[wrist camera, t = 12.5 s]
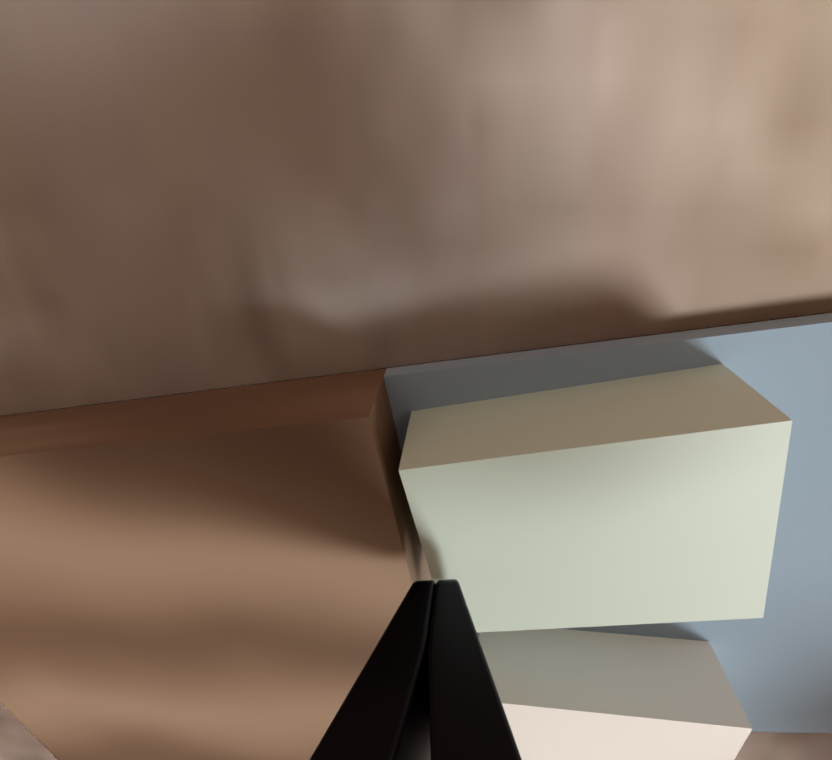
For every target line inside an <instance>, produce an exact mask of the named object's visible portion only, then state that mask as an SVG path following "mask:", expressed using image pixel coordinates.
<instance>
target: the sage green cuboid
mask: <svg viewBox="0 0 832 760" xmlns="http://www.w3.org/2000/svg"><path fill="white" fill-rule="evenodd" d="M792 421H793V420H791V419H790V418H789V417H788V416H786V415H785V414H784V413H783V412H782V411H780V410H779V409H778V408H777V407H775V406H774V405H773V404H772V403H770V402H769V401H768V400H767V399H765V398H764V397H763V396H762V395H761V394H759V393H758V392H757V391H756V390H754V389H753V388H752V387H751V386H749V385H748V384H747V383H746V382H744V381H743V380H742V379H741V378H740V377H738V376H737V375H736V374H735V373H733V372H732V371H731V370H730V369H728V368H727V367H726V366H725V365H723V364H717V365H711V366H704V367H697V368H691V369H684V370H678V371H671V372H665V373H658V374H652V375H645V376H638V377H632V378H625V379H619V380H612V381H606V382H599V383H593V384H586V385H580V386H573V387H566V388H560V389H553V390H547V391H540V392H534V393H527V394H521V395H514V396H507V397H501V398H494V399H488V400H481V401H475V402H468V403H462V404H455V405H449V406H442V407H435V408H429V409H422V410H416V411H411V415H410V420H409V424H408V429H407V433H406V438H405V443H404V447H403V452H402V456H401V461H400V465H399V470H398V471H399V474H400V477H401V480H402V484H403V487H404V490H405V493H406V497H407V500H408V503H409V506H410V510H411V513H412V516H413V519H414V522H415V526H416V529H417V532H418V535H419V539H420V542H421V545H422V548H423V552H424V555H425V558H426V561H427V564H428V568H429V571H430V574H431V577H432V580H434V581H435V582H437V581H438V580H445V579H456V580H458V582H459V584H460V587H461V590H462V592H463V595H464V598H465V601H466V604H467V607H468V609H469V612H470V615H471V618H472V621H473V623H474V626H475V629H476V632H477V633H479V632H499V631H518V630H538V629H557V628H576V627H596V626H615V625H634V624H654V623H673V622H693V621H712V620H731V619H751V618H763V616H764V609H765V603H766V596H767V589H768V582H769V576H770V569H771V562H772V555H773V549H774V542H775V535H776V528H777V522H778V515H779V508H780V502H781V495H782V488H783V481H784V475H785V468H786V461H787V454H788V448H789V441H790V434H791V427H792Z"/></svg>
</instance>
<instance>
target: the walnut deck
mask: <svg viewBox="0 0 832 760" xmlns="http://www.w3.org/2000/svg"><path fill="white" fill-rule="evenodd" d="M386 369H387V368H385V369H377V370H369V371H361V372H353V373H345V374H337V375H329V376H321V377H313V378H305V379H297V380H289V381H281V382H273V383H265V384H257V385H249V386H241V387H233V388H225V389H217V390H209V391H201V392H193V393H185V394H177V395H169V396H161V397H153V398H145V399H137V400H129V401H121V402H113V403H105V404H97V405H89V406H81V407H73V408H65V409H57V410H49V411H41V412H33V413H25V414H17V415H9V416H1V417H0V702H1V703H2V704H3V705H4V706H5V707H6V708H7V709H8V710H9V711H10V712H11V713H12V714H13V715H14V716H15V717H16V718H17V719H18V720H19V721H20V722H21V723H22V724H23V725H24V726H25V727H26V728H27V729H28V730H29V731H30V732H31V733H32V734H33V735H34V736H35V737H36V738H37V739H38V740H39V741H40V742H41V743H42V744H43V745H44V746H45V747H46V748H47V749H48V750H49V751H50V752H51V753H52V754H53V755H54V756H55V757H56V758H57V759H58V760H310V758H311V756H312V754H313V753H314V751H315V749H316V748H317V746H318V744H319V742H320V741H321V739H322V737H323V736H324V734H325V732H326V730H327V729H328V727H329V725H330V724H331V722H332V720H333V719H334V717H335V715H336V713H337V712H338V710H339V708H340V707H341V705H342V703H343V701H344V700H345V698H346V696H347V695H348V693H349V691H350V689H351V688H352V686H353V684H354V683H355V681H356V679H357V678H358V676H359V674H360V672H361V671H362V669H363V667H364V666H365V664H366V662H367V660H368V659H369V657H370V655H371V654H372V652H373V650H374V648H375V647H376V645H377V643H378V642H379V640H380V638H381V636H382V635H383V633H384V631H385V630H386V628H387V626H388V625H389V623H390V621H391V619H392V618H393V616H394V614H395V613H396V611H397V609H398V607H399V606H400V604H401V602H402V601H403V599H404V597H405V595H406V594H407V592H408V590H409V589H410V587H411V585H412V584H413V583H414V582H415V581H422V580H432V578H431V574H430V571H429V568H428V564H427V561H426V558H425V555H424V552H423V548H422V545H421V542H420V539H419V535H418V532H417V529H416V526H415V522H414V519H413V516H412V513H411V510H410V506H409V503H408V500H407V497H406V493H405V490H404V487H403V484H402V480H401V477H400V474H399V471H398V470H399V465H400V461H401V456H402V452H401V448H400V443H399V439H398V435H397V431H396V427H395V422H394V418H393V414H392V410H391V405H390V401H389V397H388V393H387V389H386V384H385V380H384V374H385V372H386Z"/></svg>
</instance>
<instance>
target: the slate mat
mask: <svg viewBox="0 0 832 760" xmlns="http://www.w3.org/2000/svg"><path fill="white" fill-rule="evenodd" d="M717 364H723V365H725V366H726V367H727V368H728V369H730V370H731V371H732V372H733V373H735V374H736V375H737V376H738V377H740V378H741V379H742V380H743V381H744V382H746V383H747V384H748V385H749V386H751V387H752V388H753V389H754V390H756V391H757V392H758V393H759V394H761V395H762V396H763V397H764V398H765V399H767V400H768V401H769V402H770V403H772V404H773V405H774V406H775V407H777V408H778V409H779V410H780V411H782V412H783V413H784V414H785V415H786V416H788V417H789V418H790V419H791V420H793V421H792V427H791V434H790V441H789V448H788V454H787V461H786V468H785V475H784V481H783V488H782V495H781V502H780V508H779V515H778V522H777V528H776V535H775V542H774V549H773V555H772V562H771V569H770V576H769V582H768V589H767V596H766V603H765V609H764V616H763V618H751V619H731V620H712V621H693V622H673V623H654V624H634V625H615V626H596V627H576V628H557V629H568V630H580V631H592V632H604V633H615V634H627V635H639V636H651V637H663V638H675V639H687V640H698V641H709V642H710V644H711V646H712V648H713V650H714V652H715V654H716V656H717V658H718V660H719V662H720V664H721V666H722V668H723V670H724V672H725V674H726V676H727V678H728V680H729V682H730V684H731V686H732V688H733V690H734V692H735V694H736V696H737V698H738V700H739V702H740V704H741V706H742V708H743V710H744V712H745V714H746V716H747V718H748V720H749V722H750V724H751V726H752V728H753V729H752V731H751V732H792V733H832V313H826V314H818V315H810V316H802V317H794V318H786V319H778V320H770V321H762V322H754V323H746V324H738V325H730V326H722V327H714V328H706V329H698V330H690V331H682V332H674V333H666V334H658V335H650V336H642V337H634V338H626V339H618V340H610V341H602V342H594V343H586V344H578V345H570V346H562V347H554V348H546V349H538V350H530V351H522V352H513V353H505V354H497V355H489V356H481V357H473V358H465V359H457V360H449V361H441V362H433V363H425V364H417V365H409V366H401V367H393V368H387V369H386V372H385V374H384V380H385V384H386V389H387V393H388V397H389V401H390V405H391V410H392V414H393V418H394V422H395V427H396V431H397V435H398V439H399V443H400V448H401V452H403V447H404V443H405V438H406V433H407V429H408V424H409V420H410V415H411V411H416V410H422V409H429V408H435V407H442V406H449V405H455V404H462V403H468V402H475V401H481V400H488V399H494V398H501V397H507V396H514V395H521V394H527V393H534V392H540V391H547V390H553V389H560V388H566V387H573V386H580V385H586V384H593V383H599V382H606V381H612V380H619V379H625V378H632V377H638V376H645V375H652V374H658V373H665V372H671V371H678V370H684V369H691V368H697V367H704V366H711V365H717ZM431 578H432V577H431ZM477 635H478V633H477Z"/></svg>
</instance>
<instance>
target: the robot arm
mask: <svg viewBox="0 0 832 760" xmlns="http://www.w3.org/2000/svg"><path fill="white" fill-rule="evenodd" d="M310 760H522V759H521V756H520V753H519V750H518V747H517V745H516V742H515V739H514V736H513V733H512V730H511V728H510V725H509V722H508V719H507V716H506V714H505V711H504V708H503V705H502V702H501V699H500V697H499V694H498V691H497V688H496V685H495V683H494V680H493V677H492V674H491V671H490V669H489V666H488V663H487V660H486V657H485V654H484V652H483V649H482V646H481V643H480V640H479V638H478V635H477V632H476V629H475V626H474V623H473V621H472V618H471V615H470V612H469V609H468V607H467V604H466V601H465V598H464V595H463V592H462V590H461V587H460V584H459V582H458V580H456V579H445V580H438V581H437V582H435V581H434V580H422V581H415V582H414V583H413V584H412V585H411V587H410V589H409V590H408V592H407V594H406V595H405V597H404V599H403V601H402V602H401V604H400V606H399V607H398V609H397V611H396V613H395V614H394V616H393V618H392V619H391V621H390V623H389V625H388V626H387V628H386V630H385V631H384V633H383V635H382V636H381V638H380V640H379V642H378V643H377V645H376V647H375V648H374V650H373V652H372V654H371V655H370V657H369V659H368V660H367V662H366V664H365V666H364V667H363V669H362V671H361V672H360V674H359V676H358V678H357V679H356V681H355V683H354V684H353V686H352V688H351V689H350V691H349V693H348V695H347V696H346V698H345V700H344V701H343V703H342V705H341V707H340V708H339V710H338V712H337V713H336V715H335V717H334V719H333V720H332V722H331V724H330V725H329V727H328V729H327V730H326V732H325V734H324V736H323V737H322V739H321V741H320V742H319V744H318V746H317V748H316V749H315V751H314V753H313V754H312V756H311V758H310Z"/></svg>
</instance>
